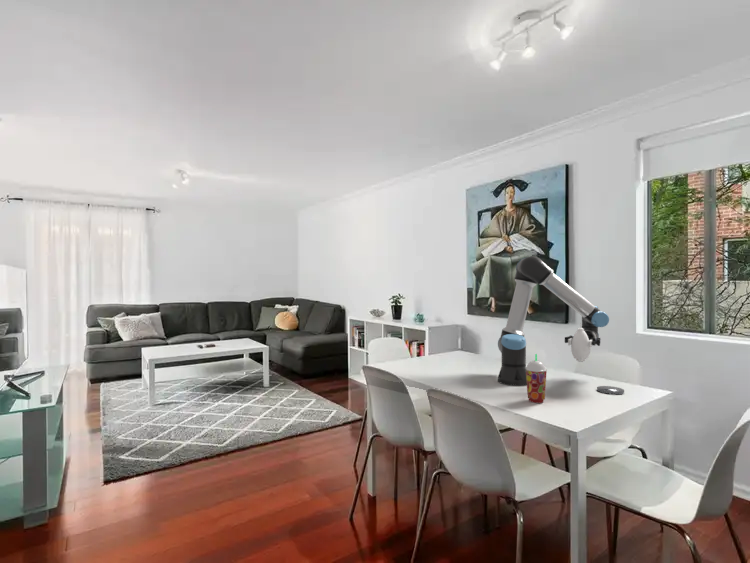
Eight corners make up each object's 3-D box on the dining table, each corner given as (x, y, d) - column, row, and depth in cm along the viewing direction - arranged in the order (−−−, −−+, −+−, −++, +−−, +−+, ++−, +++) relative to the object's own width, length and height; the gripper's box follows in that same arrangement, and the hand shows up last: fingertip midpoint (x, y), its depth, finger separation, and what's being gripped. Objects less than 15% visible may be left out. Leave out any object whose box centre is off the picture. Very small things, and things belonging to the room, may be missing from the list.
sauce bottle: (593, 362, 195) (594, 323, 195) (581, 363, 192) (582, 323, 192) (579, 359, 203) (579, 321, 203) (567, 360, 199) (567, 322, 199)
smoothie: (537, 397, 186) (537, 352, 186) (551, 403, 178) (551, 355, 178) (521, 399, 183) (521, 353, 183) (534, 404, 175) (534, 356, 175)
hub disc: (620, 395, 189) (620, 393, 189) (593, 391, 197) (593, 388, 197) (627, 391, 197) (627, 388, 197) (601, 387, 204) (601, 384, 204)
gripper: (610, 347, 206) (604, 354, 188) (564, 343, 218) (554, 349, 199) (610, 332, 206) (604, 336, 188) (564, 328, 218) (555, 333, 199)
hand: (579, 343), depth 193 cm, fingers closed on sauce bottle, 8 cm apart
